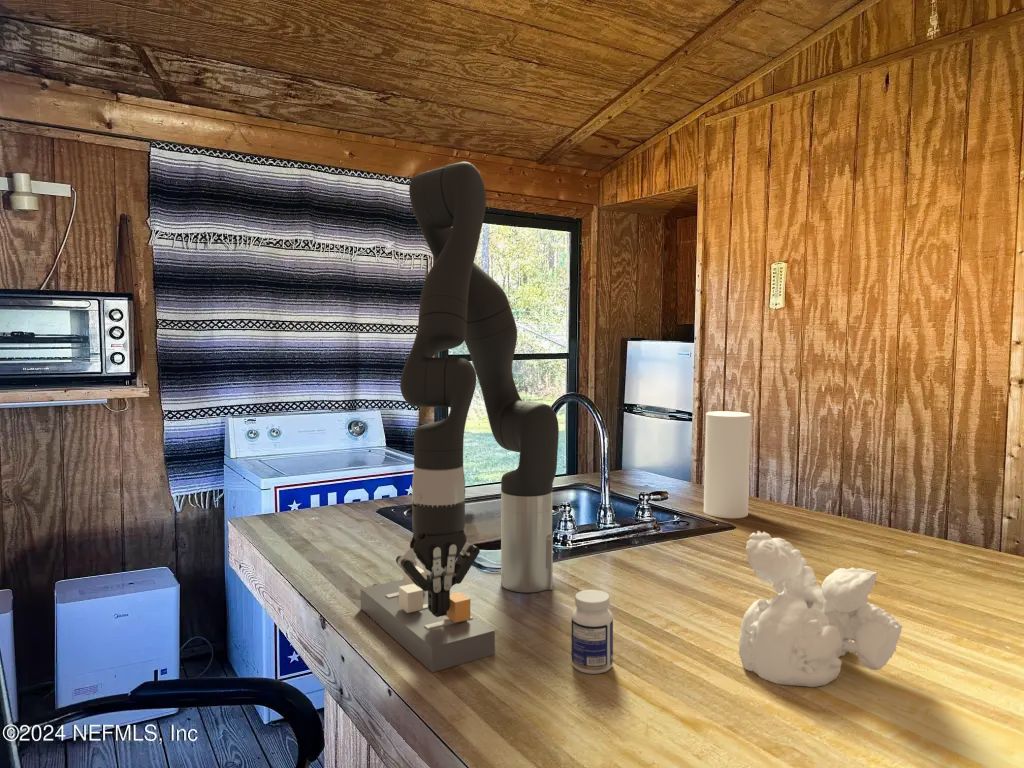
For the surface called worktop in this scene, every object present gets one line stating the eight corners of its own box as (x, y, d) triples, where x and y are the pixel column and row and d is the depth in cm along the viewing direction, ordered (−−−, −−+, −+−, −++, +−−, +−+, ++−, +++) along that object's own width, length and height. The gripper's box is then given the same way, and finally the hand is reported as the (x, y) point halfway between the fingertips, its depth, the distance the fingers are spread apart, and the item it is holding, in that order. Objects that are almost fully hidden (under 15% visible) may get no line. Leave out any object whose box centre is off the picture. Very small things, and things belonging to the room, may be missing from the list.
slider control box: (347, 597, 125) (347, 576, 124) (401, 586, 130) (401, 566, 130) (432, 672, 98) (432, 646, 98) (494, 654, 103) (494, 629, 103)
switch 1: (412, 592, 116) (411, 574, 116) (403, 586, 119) (403, 568, 118) (426, 589, 117) (426, 571, 117) (417, 583, 120) (417, 566, 120)
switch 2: (407, 612, 108) (407, 593, 108) (398, 605, 111) (398, 586, 110) (423, 609, 109) (422, 589, 109) (413, 602, 112) (413, 583, 112)
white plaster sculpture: (693, 605, 98) (767, 510, 107) (729, 697, 107) (795, 601, 116) (829, 663, 83) (900, 546, 93) (857, 763, 92) (920, 648, 102)
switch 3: (455, 622, 104) (455, 602, 104) (444, 615, 107) (444, 595, 107) (470, 618, 106) (470, 598, 106) (459, 611, 108) (459, 592, 108)
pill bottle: (586, 652, 104) (586, 584, 103) (620, 664, 100) (621, 594, 100) (562, 666, 100) (563, 596, 99) (598, 679, 96) (599, 606, 95)
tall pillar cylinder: (719, 505, 188) (722, 410, 186) (756, 513, 180) (759, 414, 178) (694, 511, 182) (697, 413, 180) (731, 520, 173) (734, 417, 171)
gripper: (466, 486, 110) (465, 597, 111) (385, 497, 103) (385, 615, 104) (491, 496, 104) (491, 613, 105) (407, 508, 97) (407, 634, 98)
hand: (438, 614), depth 105 cm, fingers closed
